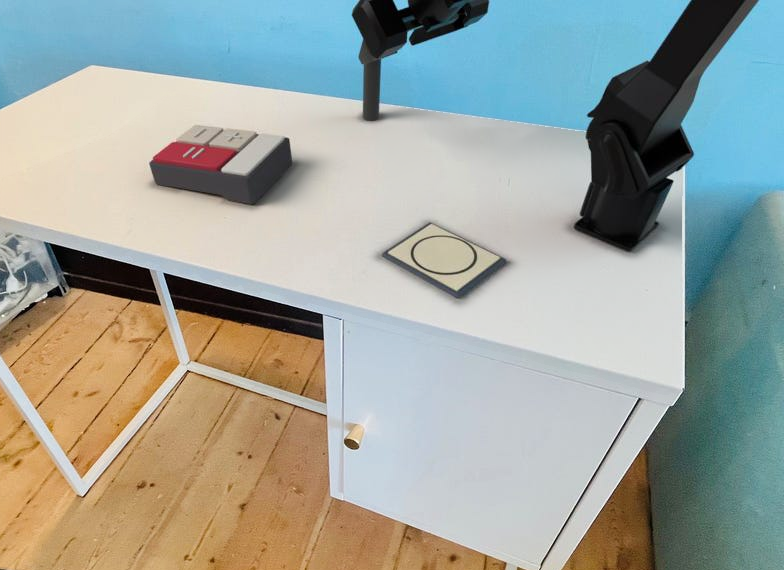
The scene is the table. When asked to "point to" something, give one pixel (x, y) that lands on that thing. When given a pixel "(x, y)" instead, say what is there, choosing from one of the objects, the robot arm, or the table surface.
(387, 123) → the table surface
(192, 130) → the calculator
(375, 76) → the dot marker
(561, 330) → the table surface
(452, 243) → the coaster
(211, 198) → the table surface
